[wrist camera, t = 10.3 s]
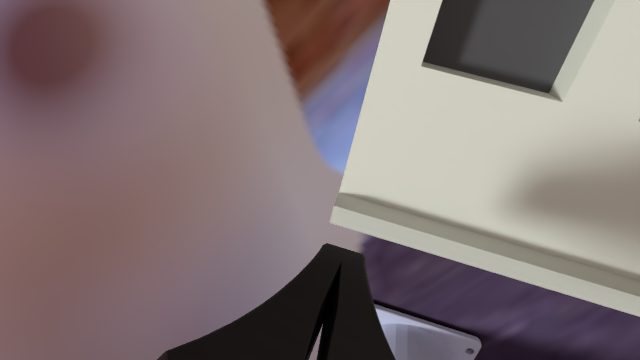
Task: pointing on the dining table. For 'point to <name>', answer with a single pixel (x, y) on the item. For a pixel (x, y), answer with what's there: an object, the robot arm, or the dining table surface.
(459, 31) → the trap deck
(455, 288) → the dining table surface
